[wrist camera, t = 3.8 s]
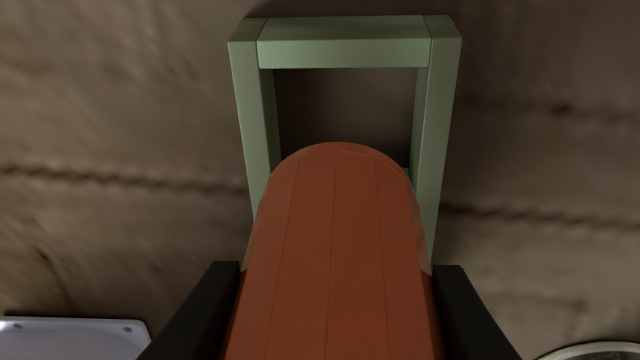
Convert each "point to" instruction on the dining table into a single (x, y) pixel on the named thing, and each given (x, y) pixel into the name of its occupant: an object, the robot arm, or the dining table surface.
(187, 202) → the dining table surface
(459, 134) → the dining table surface
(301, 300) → the terracotta tumbler
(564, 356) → the coffee can
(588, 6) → the dining table surface
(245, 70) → the frame
